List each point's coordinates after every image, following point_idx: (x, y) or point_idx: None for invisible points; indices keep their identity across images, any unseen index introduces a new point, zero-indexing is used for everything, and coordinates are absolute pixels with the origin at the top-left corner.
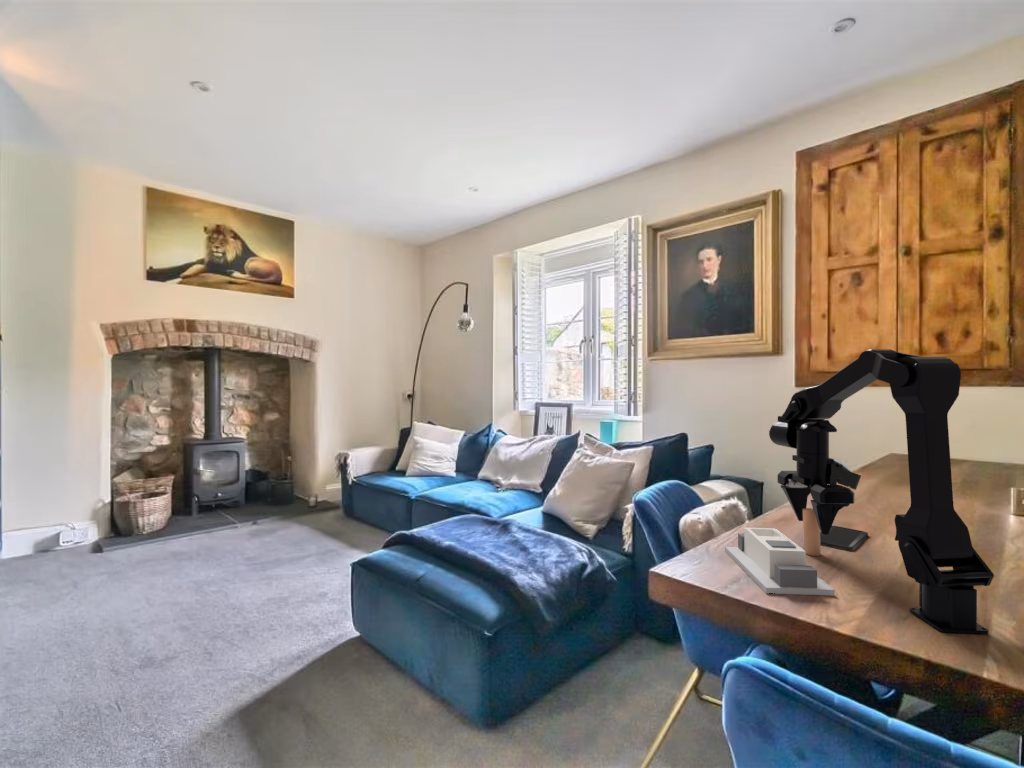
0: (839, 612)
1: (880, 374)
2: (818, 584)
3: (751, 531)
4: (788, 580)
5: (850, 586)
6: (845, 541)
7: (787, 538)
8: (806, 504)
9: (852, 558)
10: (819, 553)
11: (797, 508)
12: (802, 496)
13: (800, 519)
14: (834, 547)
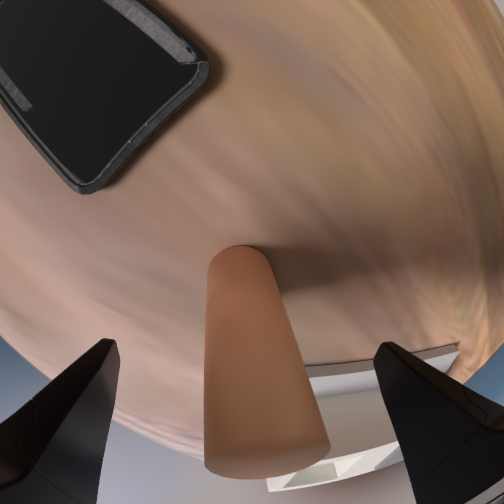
0: (472, 353)
1: None
2: (439, 367)
3: (304, 485)
4: None
5: (451, 300)
6: (114, 43)
7: (379, 447)
8: (65, 420)
9: (308, 137)
10: (270, 266)
11: (100, 431)
12: (52, 491)
13: (117, 362)
14: (161, 124)
